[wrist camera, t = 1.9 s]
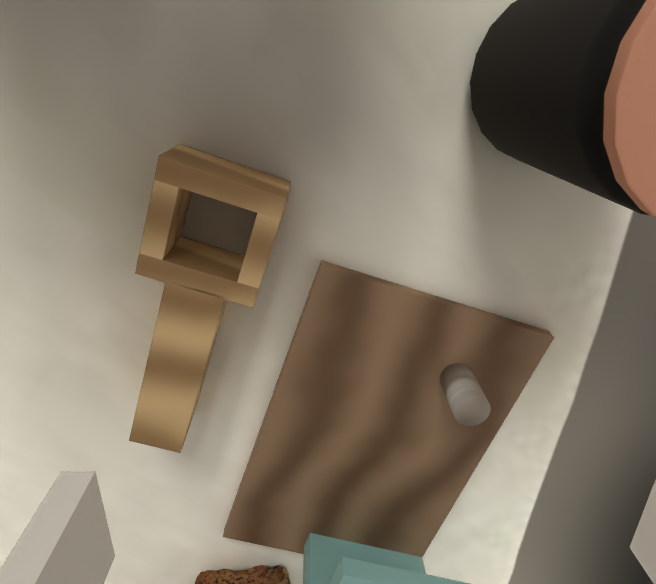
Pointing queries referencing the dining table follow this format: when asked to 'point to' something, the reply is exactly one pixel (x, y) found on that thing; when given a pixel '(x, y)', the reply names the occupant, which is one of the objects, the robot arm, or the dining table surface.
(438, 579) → the block
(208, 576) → the bread
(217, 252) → the wooden square socket bar
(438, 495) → the pintle board
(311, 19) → the dining table surface
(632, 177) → the coffee jar
